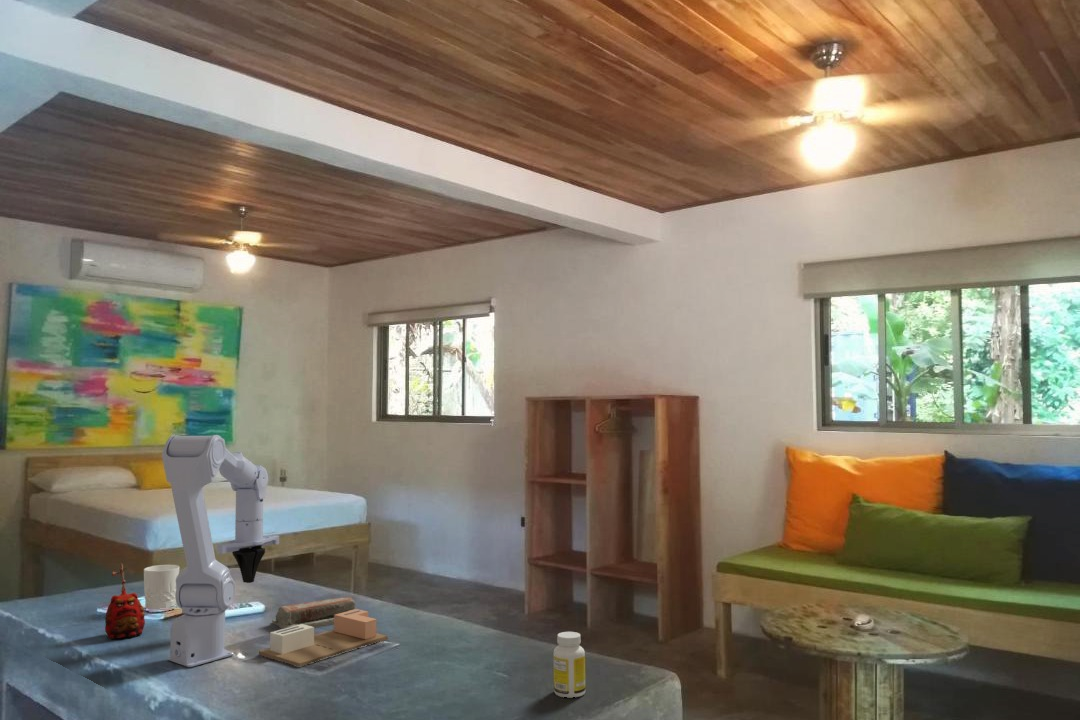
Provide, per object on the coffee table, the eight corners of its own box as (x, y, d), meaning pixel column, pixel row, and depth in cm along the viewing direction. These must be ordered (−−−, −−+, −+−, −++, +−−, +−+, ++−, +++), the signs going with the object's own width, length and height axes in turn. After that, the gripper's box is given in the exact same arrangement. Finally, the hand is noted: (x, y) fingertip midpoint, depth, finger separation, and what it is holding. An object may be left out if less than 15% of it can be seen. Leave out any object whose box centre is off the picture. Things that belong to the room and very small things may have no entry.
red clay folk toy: (108, 642, 167) (109, 570, 168) (101, 635, 173) (102, 565, 173) (147, 635, 172) (149, 565, 173) (139, 628, 178) (140, 560, 178)
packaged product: (288, 612, 174) (271, 603, 182) (288, 635, 174) (271, 625, 181) (364, 599, 185) (345, 591, 193) (364, 620, 185) (345, 612, 193)
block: (365, 639, 165) (365, 621, 166) (334, 631, 171) (334, 614, 172) (387, 632, 170) (387, 615, 170) (356, 625, 176) (356, 608, 176)
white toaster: (282, 654, 156) (282, 635, 157) (270, 650, 159) (270, 631, 159) (314, 644, 162) (314, 626, 163) (301, 641, 165) (301, 623, 165)
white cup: (145, 606, 197) (146, 565, 197) (180, 604, 199) (181, 563, 200) (140, 615, 189) (141, 572, 190) (176, 612, 192) (177, 569, 192)
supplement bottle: (584, 687, 140) (583, 630, 140) (586, 698, 134) (586, 639, 135) (552, 687, 139) (552, 630, 140) (554, 699, 134) (554, 639, 135)
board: (299, 667, 151) (299, 663, 151) (258, 655, 158) (258, 650, 158) (387, 639, 168) (387, 635, 168) (346, 629, 176) (346, 625, 176)
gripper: (231, 525, 169) (230, 590, 168) (287, 517, 181) (287, 578, 180) (211, 522, 173) (210, 586, 172) (268, 514, 185) (267, 574, 184)
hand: (248, 582), depth 177 cm, fingers closed
